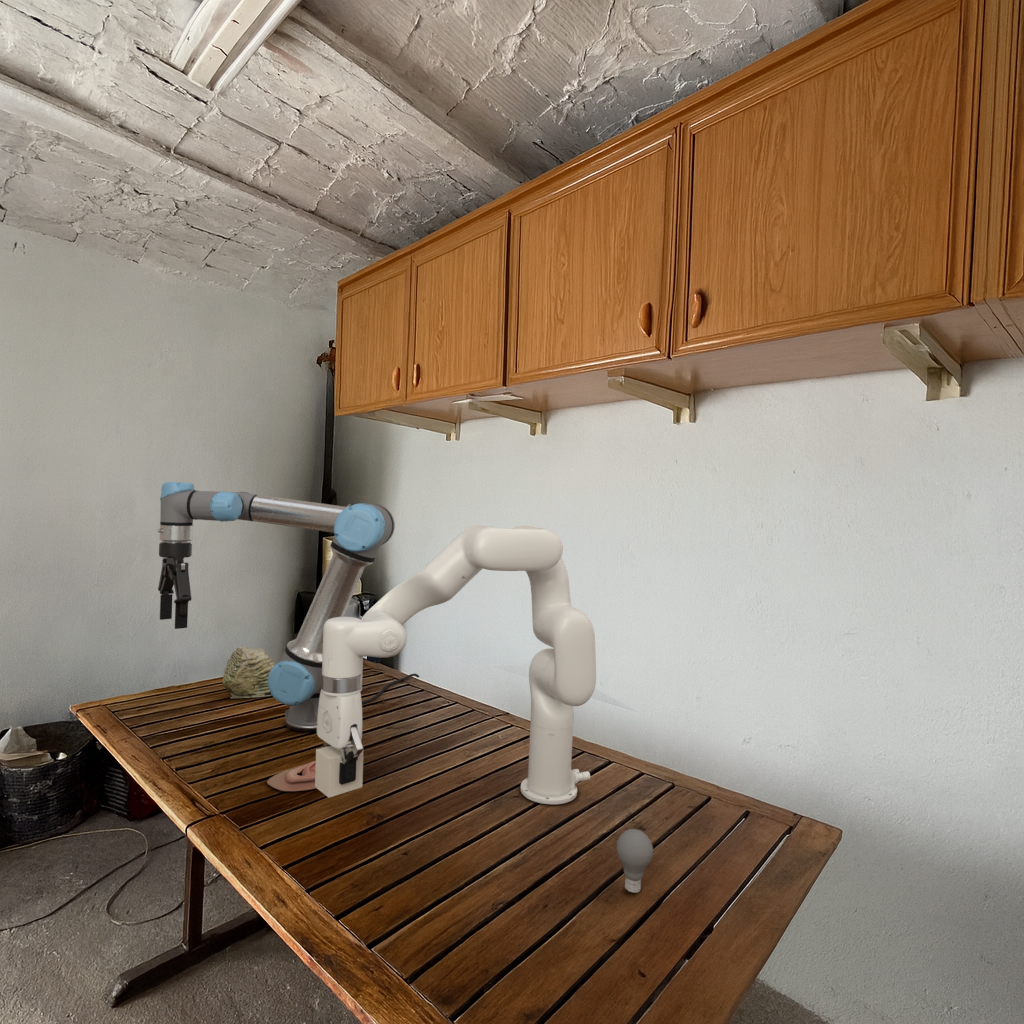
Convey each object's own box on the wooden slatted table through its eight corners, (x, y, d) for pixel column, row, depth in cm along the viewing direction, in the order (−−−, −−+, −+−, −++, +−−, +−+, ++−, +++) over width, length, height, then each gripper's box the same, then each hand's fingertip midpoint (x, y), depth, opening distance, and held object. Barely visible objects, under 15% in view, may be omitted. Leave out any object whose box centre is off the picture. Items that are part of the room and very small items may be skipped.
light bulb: (610, 879, 108) (613, 822, 108) (644, 879, 109) (647, 822, 109) (619, 902, 102) (622, 840, 102) (655, 901, 103) (658, 840, 103)
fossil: (218, 695, 195) (220, 647, 195) (278, 685, 208) (279, 640, 207) (228, 703, 189) (230, 653, 188) (289, 692, 201) (290, 645, 201)
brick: (314, 786, 121) (315, 749, 121) (348, 776, 126) (349, 740, 126) (328, 798, 117) (329, 759, 117) (362, 787, 122) (363, 749, 122)
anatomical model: (259, 769, 136) (288, 749, 147) (258, 787, 136) (288, 766, 147) (316, 777, 133) (341, 756, 145) (315, 796, 133) (340, 773, 145)
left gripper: (147, 538, 170) (144, 616, 171) (174, 545, 152) (171, 633, 152) (177, 538, 175) (174, 614, 176) (207, 545, 157) (204, 630, 157)
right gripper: (303, 675, 125) (300, 766, 125) (346, 697, 112) (342, 798, 113) (338, 669, 130) (335, 756, 130) (383, 690, 117) (379, 786, 118)
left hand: (173, 623), depth 164 cm, fingers open, 13 cm apart
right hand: (339, 775), depth 121 cm, fingers closed on brick, 5 cm apart
